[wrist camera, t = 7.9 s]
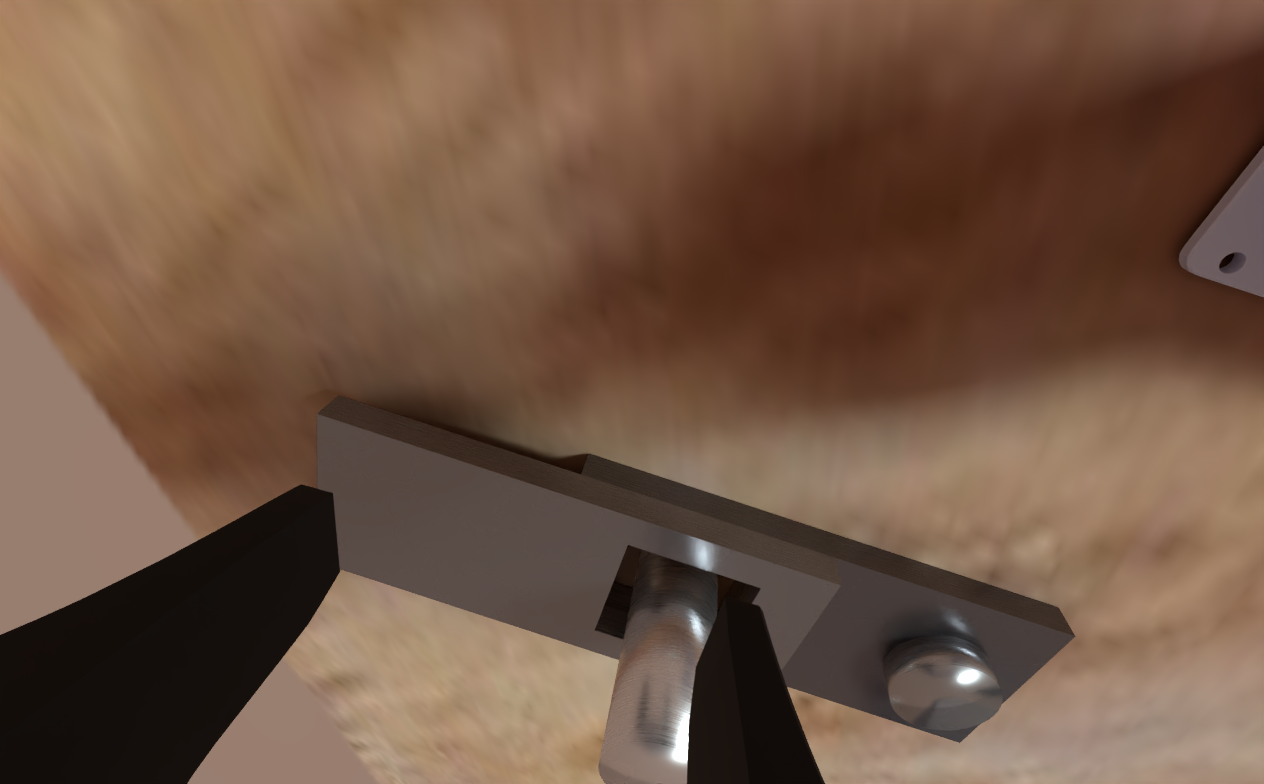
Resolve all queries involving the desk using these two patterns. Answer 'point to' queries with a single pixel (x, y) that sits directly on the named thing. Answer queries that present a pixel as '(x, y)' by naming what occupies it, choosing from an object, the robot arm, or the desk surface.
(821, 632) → the end link lower
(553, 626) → the end link upper
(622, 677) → the steel pin
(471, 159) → the desk surface
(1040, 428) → the desk surface
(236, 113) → the desk surface
